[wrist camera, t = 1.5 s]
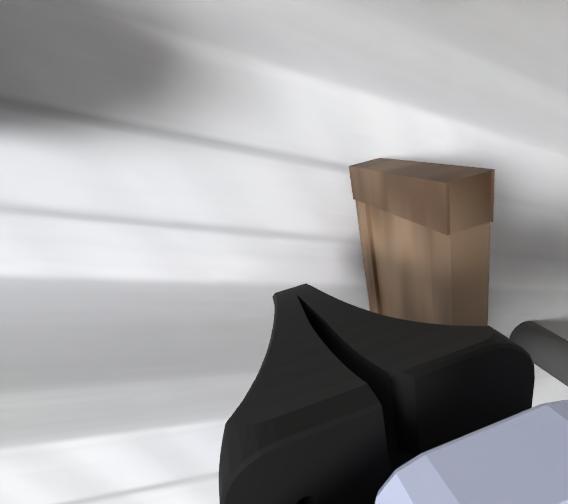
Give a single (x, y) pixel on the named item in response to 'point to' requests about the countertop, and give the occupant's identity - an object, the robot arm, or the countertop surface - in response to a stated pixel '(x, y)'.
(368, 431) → the robot arm
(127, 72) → the countertop surface
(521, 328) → the block
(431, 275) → the gate
